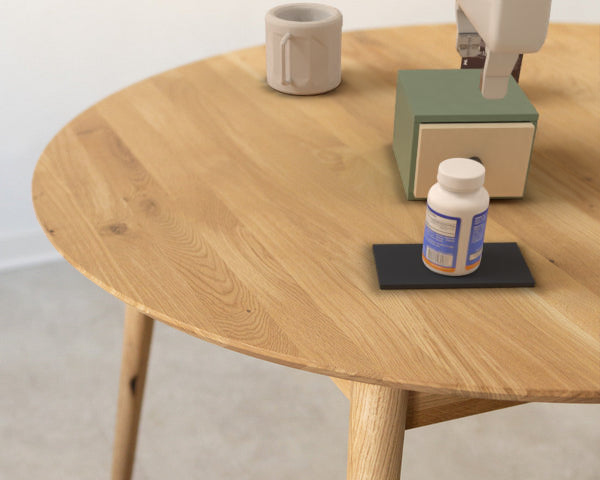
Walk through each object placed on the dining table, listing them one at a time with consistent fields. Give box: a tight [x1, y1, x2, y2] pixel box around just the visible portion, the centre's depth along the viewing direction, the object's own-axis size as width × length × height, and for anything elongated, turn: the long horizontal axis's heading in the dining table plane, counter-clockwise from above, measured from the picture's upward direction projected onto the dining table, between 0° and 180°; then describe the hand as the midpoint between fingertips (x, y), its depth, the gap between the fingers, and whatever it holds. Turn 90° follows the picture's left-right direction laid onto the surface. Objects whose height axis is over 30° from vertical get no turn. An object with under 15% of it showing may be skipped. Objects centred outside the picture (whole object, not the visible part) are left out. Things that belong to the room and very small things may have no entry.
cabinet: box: [391, 68, 540, 201], centre depth 87 cm, size 14×13×10 cm
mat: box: [371, 241, 536, 290], centre depth 73 cm, size 14×7×1 cm, turn 91°
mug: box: [264, 2, 344, 96], centre depth 109 cm, size 14×11×10 cm
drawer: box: [414, 121, 535, 198], centre depth 85 cm, size 14×11×8 cm
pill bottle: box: [422, 158, 490, 276], centre depth 70 cm, size 5×5×10 cm
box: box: [459, 38, 524, 84], centre depth 107 cm, size 6×6×7 cm
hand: (478, 74), depth 63 cm, fingers open, 8 cm apart
